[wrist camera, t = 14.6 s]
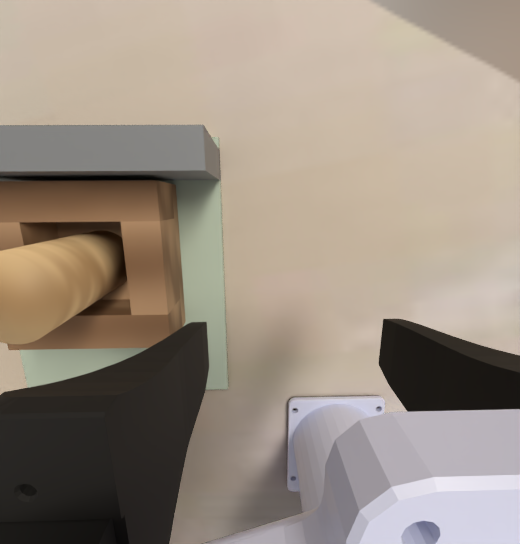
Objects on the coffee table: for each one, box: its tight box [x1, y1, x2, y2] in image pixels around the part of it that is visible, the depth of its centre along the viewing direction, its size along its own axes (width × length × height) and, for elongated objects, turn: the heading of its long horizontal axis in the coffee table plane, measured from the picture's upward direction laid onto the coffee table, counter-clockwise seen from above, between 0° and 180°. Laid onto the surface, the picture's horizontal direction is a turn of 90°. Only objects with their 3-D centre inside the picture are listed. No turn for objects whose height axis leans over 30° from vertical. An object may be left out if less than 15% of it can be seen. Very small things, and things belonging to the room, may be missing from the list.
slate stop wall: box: [0, 125, 221, 181], centre depth 17 cm, size 2×16×6 cm, turn 90°
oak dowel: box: [0, 230, 127, 344], centre depth 16 cm, size 4×4×8 cm
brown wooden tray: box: [0, 180, 186, 350], centre depth 19 cm, size 10×10×4 cm
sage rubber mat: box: [20, 137, 228, 390], centre depth 21 cm, size 19×16×1 cm
